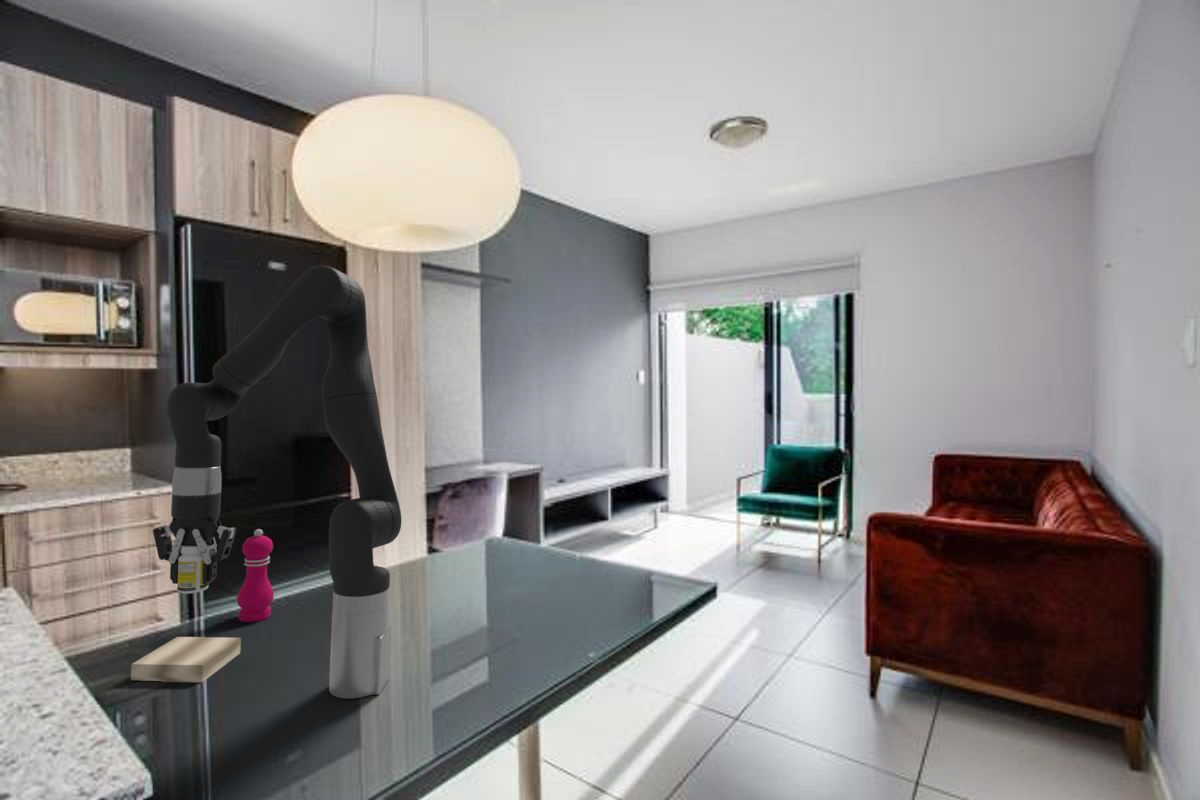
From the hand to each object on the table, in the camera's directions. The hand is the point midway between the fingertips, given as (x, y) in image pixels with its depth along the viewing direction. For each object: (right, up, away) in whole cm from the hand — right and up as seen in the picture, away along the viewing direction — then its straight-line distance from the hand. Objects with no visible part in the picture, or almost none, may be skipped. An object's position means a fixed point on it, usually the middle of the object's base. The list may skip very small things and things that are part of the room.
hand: (193, 582), depth 108 cm
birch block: (-1, -15, 0) cm, 15 cm away
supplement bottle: (0, -2, 0) cm, 2 cm away
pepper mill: (-3, -16, +25) cm, 29 cm away
